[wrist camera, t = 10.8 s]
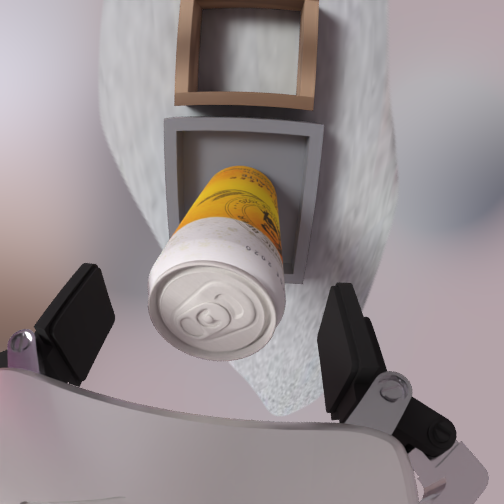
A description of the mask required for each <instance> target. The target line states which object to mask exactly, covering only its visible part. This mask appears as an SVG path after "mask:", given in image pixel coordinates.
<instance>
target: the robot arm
mask: <svg viewBox="0 0 504 504" xmlns="http://www.w3.org/2000/svg"><path fill="white" fill-rule="evenodd" d="M114 321H115V314H114V311H113V308H112V305H111V302H110V299H109V296H108V293H107V289H106V286H105V283H104V279H103V276H102V272H101V269H100V268H98V266H97V265H96V264H89V263H84V264H82V265H81V267H80V268H79V269H78V270H77V271H76V272H75V274H74V275H73V276H72V278H70V280H69V281H68V282H67V283H66V285H65V286H64V287H63V289H62V290H61V291H60V292H59V293H58V295H57V296H56V297H55V299H54V300H53V301H52V302H51V304H50V305H49V306H48V308H47V309H46V311H45V312H44V313H43V315H42V316H41V317H40V319H39V320H38V322H37V323H36V324H35V326H34V327H35V329H36V331H35V333H33V332H32V331H31V330H29V329H23V330H19V331H17V332H16V333H14V334H13V335H12V336H11V338H10V339H9V341H8V346H7V347H8V349H7V350H6V351H3V352H0V504H474V503H475V501H476V500H477V498H479V496H480V495H481V494H482V493H483V491H484V490H485V488H486V486H487V484H488V480H489V477H488V472H487V470H486V469H485V468H484V467H483V465H482V464H481V463H480V462H479V461H478V459H477V458H476V457H475V456H474V455H473V454H472V452H471V451H470V450H469V449H468V448H467V447H466V446H465V445H464V444H463V442H462V441H461V442H459V443H458V441H457V440H456V430H455V427H454V425H453V424H452V422H451V421H449V420H448V419H447V418H445V417H444V416H442V415H440V414H439V413H437V412H435V411H434V410H432V409H431V408H429V407H428V406H426V405H424V404H423V403H421V402H420V401H418V400H416V399H415V398H413V397H412V386H411V384H410V382H409V381H408V379H407V378H406V377H404V376H403V375H402V374H400V373H397V372H392V371H388V372H387V369H386V366H385V363H384V359H383V356H382V353H381V350H380V347H379V344H378V341H377V338H376V335H375V332H374V329H373V326H372V323H371V321H370V319H369V318H368V317H363V314H362V311H361V308H360V305H359V302H358V299H357V296H356V294H355V291H354V288H353V285H352V284H351V283H337V284H336V286H332V287H331V289H330V293H329V296H328V300H327V304H326V308H325V311H324V315H323V318H322V322H321V325H320V329H319V332H318V337H317V343H318V350H319V357H320V365H321V372H322V380H323V389H324V397H325V406H326V412H327V413H331V419H332V420H339V421H340V423H319V422H318V423H316V422H274V421H255V420H241V419H230V418H220V417H211V416H203V415H197V414H190V413H184V412H177V411H172V410H166V409H160V408H156V407H151V406H146V405H142V404H137V403H133V402H129V401H125V400H121V399H117V398H113V397H109V396H106V395H102V394H99V393H95V392H92V391H89V390H85V389H82V388H79V387H80V384H81V382H82V381H84V380H85V379H86V377H87V375H88V373H89V371H90V369H91V367H92V365H93V363H94V361H95V359H96V357H97V355H98V353H99V351H100V349H101V347H102V345H103V343H104V341H105V339H106V337H107V335H108V333H109V331H110V329H111V328H112V325H113V323H114ZM68 382H69V384H67V383H68ZM70 384H72V385H70ZM73 385H75V386H73ZM76 386H78V387H76ZM413 471H415V472H416V473H417V475H418V476H419V478H418V480H419V481H420V482H421V484H422V486H423V488H424V495H423V498H422V500H421V501H420V502H419V498H418V491H417V485H416V481H415V476H414V472H413Z"/></svg>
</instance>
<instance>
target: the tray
mask: <svg viewBox="0 0 504 504" xmlns="http://www.w3.org/2000/svg"><path fill="white" fill-rule="evenodd" d="M323 133H324V125H323V124H320V123H314V122H305V121H296V120H285V119H272V118H256V117H229V116H193V117H172V118H166V119H164V155H165V182H166V200H167V215H168V228H169V239H170V238H171V237H172V235H173V234H174V232H175V231H176V229H177V228H178V226H179V225H180V223H181V222H182V220H183V219H184V217H185V216H186V214H187V213H188V211H189V210H190V208H191V207H192V205H193V204H194V202H195V201H196V200H197V198H198V197H199V195H200V194H201V192H202V191H203V190H204V188H205V187H206V185H207V184H208V182H209V181H210V180H211V179H212V177H213V176H214V175H215V174H217V173H218V172H219V171H221V170H223V169H225V168H228V167H232V166H248V167H251V168H254V169H256V170H258V171H260V172H262V173H263V174H264V175H265V176H266V177H267V178H268V179H269V180H270V181H271V183H272V184H273V186H274V188H275V191H276V195H277V204H278V214H279V225H280V236H281V248H282V259H283V272H284V283H293V284H303V280H304V274H305V268H306V262H307V256H308V250H309V243H310V237H311V230H312V223H313V217H314V209H315V202H316V195H317V187H318V179H319V170H320V162H321V153H322V143H323Z"/></svg>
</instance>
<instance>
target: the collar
mask: <svg viewBox="0 0 504 504" xmlns="http://www.w3.org/2000/svg"><path fill="white" fill-rule="evenodd" d="M213 8H267V9H282V10H293V11H301V14H300V38H299V57H298V75H297V91H296V95H287V94H274V93H258V92H197V89H198V66H199V48H200V32H201V19H202V9H213ZM318 13H319V0H181V3H180V13H179V24H178V36H177V51H176V71H175V104H174V106H181V105H250V106H269V107H282V108H293V109H303V110H312V111H313V106H314V93H315V78H316V61H317V41H318Z"/></svg>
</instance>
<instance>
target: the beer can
mask: <svg viewBox="0 0 504 504" xmlns="http://www.w3.org/2000/svg"><path fill="white" fill-rule="evenodd" d="M148 295H149V299H148V310H149V315H150V318H151V321H152V323H153V325H154V326H155V328H156V330H157V331H158V332H159V334H160V335H161V336H162V337H163V338H164V339H165V340H166V341H167V342H168V343H170V344H171V345H172V346H174V347H175V348H177V349H178V350H180V351H182V352H184V353H186V354H189V355H191V356H194V357H197V358H201V359H205V360H212V361H232V360H238V359H242V358H245V357H248V356H250V355H252V354H254V353H256V352H258V351H259V350H261V349H262V348H263V347H264V346H265V345H266V344H267V343H268V342H269V341H270V339H271V338H272V336H273V334H274V331H275V328H276V327H277V326H278V324H279V323H280V321H281V319H282V317H283V314H284V310H285V303H286V298H285V285H284V272H283V259H282V248H281V236H280V225H279V214H278V204H277V195H276V191H275V188H274V186H273V184H272V183H271V181H270V180H269V179H268V178H267V177H266V176H265V175H264V174H263V173H262V172H260V171H258V170H256V169H254V168H251V167H248V166H232V167H228V168H225V169H223V170H221V171H219V172H218V173H217V174H215V175H214V176H213V177H212V179H211V180H210V181H209V182H208V184H207V185H206V187H205V188H204V190H203V191H202V192H201V194H200V195H199V197H198V198H197V200H196V201H195V202H194V204H193V205H192V207H191V208H190V210H189V211H188V213H187V214H186V216H185V217H184V219H183V220H182V222H181V223H180V225H179V226H178V228H177V229H176V231H175V232H174V234H173V235H172V237H171V238H170V240H169V241H168V243H167V245H166V246H165V248H164V249H163V251H162V252H161V254H160V256H159V257H158V259H157V261H156V262H155V264H154V265H153V267H152V269H151V272H150V275H149V280H148Z"/></svg>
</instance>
